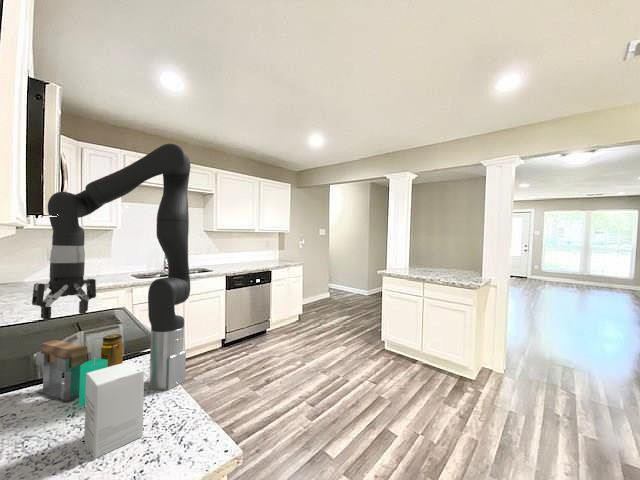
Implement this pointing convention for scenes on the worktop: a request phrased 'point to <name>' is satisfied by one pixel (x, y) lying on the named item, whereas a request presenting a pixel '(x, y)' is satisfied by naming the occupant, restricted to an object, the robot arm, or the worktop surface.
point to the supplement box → (113, 407)
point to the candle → (84, 369)
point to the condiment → (112, 349)
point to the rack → (59, 378)
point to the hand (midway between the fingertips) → (65, 316)
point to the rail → (65, 352)
